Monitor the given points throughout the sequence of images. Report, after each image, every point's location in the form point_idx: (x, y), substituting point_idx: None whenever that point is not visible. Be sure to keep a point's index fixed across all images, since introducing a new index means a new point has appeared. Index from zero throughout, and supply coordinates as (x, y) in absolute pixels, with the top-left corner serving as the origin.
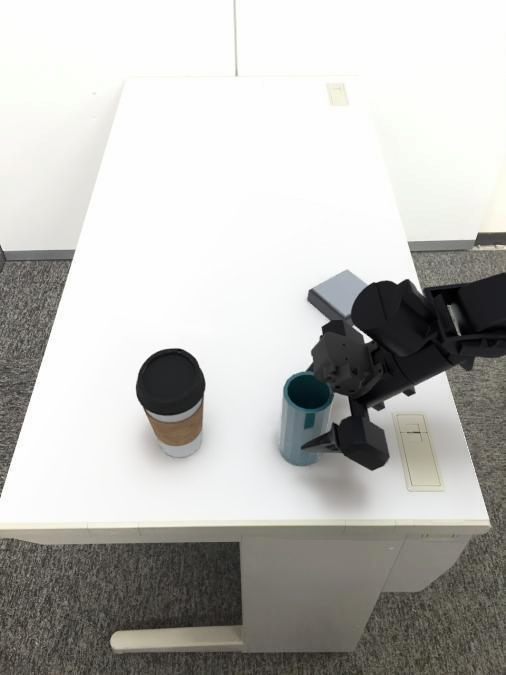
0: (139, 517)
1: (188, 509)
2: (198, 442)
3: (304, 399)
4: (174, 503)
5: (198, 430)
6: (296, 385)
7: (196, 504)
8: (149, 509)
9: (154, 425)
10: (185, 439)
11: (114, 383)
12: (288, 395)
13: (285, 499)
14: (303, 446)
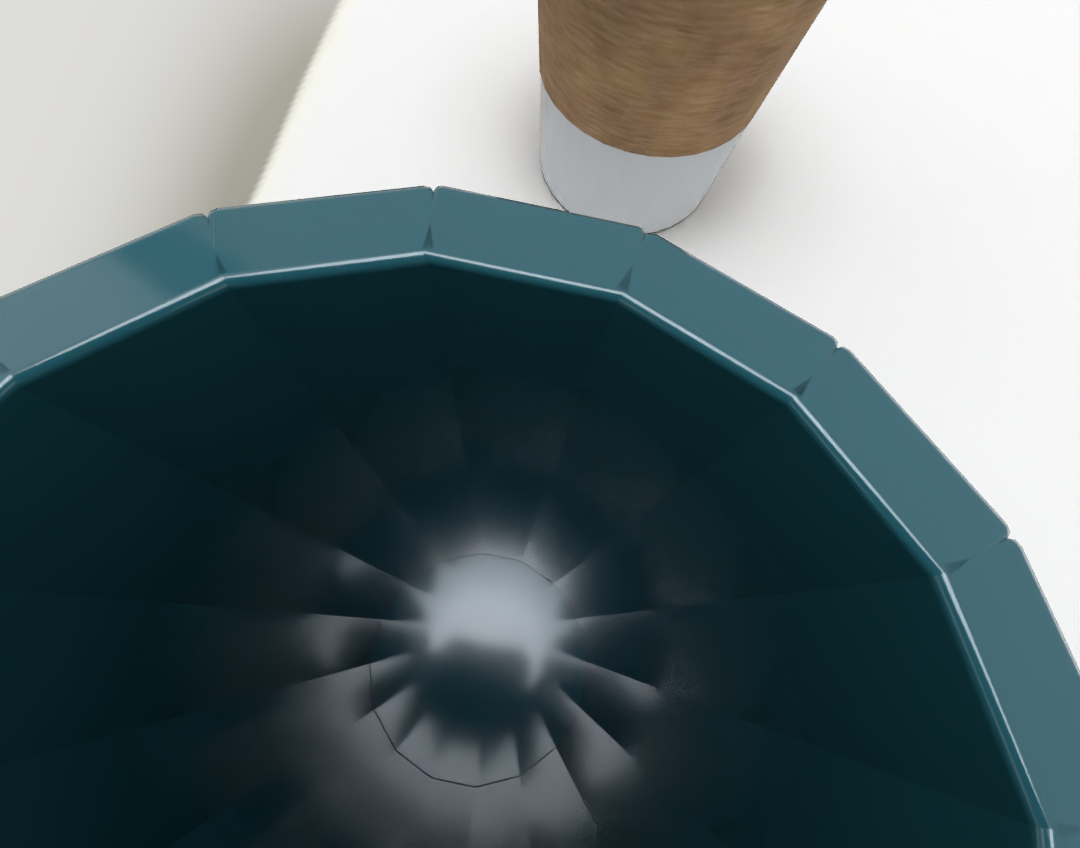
0: (351, 18)
1: (325, 144)
2: (575, 180)
3: (660, 743)
4: (364, 110)
5: (582, 86)
6: (770, 632)
7: (335, 170)
8: (369, 44)
9: None
10: (541, 28)
11: (887, 16)
12: (636, 496)
13: None
14: None
